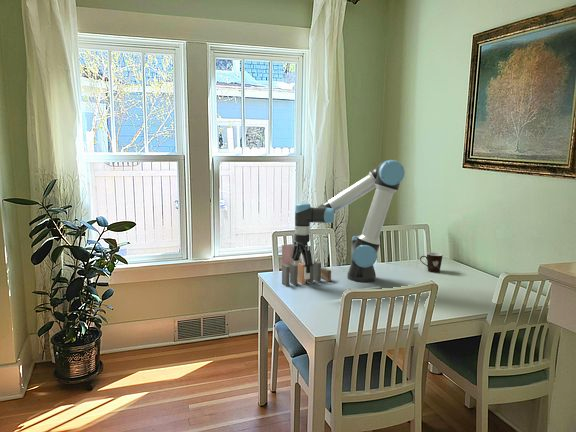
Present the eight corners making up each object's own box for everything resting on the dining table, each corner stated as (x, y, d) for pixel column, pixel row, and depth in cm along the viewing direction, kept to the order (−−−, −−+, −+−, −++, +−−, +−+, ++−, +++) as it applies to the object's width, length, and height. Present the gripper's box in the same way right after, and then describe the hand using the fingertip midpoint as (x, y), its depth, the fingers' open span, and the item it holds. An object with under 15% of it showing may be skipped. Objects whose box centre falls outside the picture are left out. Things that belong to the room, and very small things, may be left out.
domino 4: (316, 279, 229) (316, 260, 228) (320, 281, 225) (321, 263, 223) (313, 279, 228) (313, 261, 227) (317, 282, 224) (318, 263, 222)
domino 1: (285, 283, 221) (285, 264, 220) (289, 286, 217) (289, 266, 216) (281, 283, 221) (282, 264, 219) (286, 286, 216) (286, 266, 215)
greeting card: (299, 269, 249) (300, 243, 247) (305, 272, 243) (305, 246, 241) (281, 271, 245) (281, 244, 243) (286, 274, 238) (286, 247, 236)
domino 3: (308, 280, 227) (308, 261, 226) (313, 282, 223) (313, 263, 221) (305, 280, 226) (305, 262, 225) (310, 283, 222) (310, 264, 221)
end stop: (324, 277, 232) (324, 266, 231) (330, 281, 226) (331, 270, 225) (320, 278, 231) (321, 267, 231) (327, 281, 225) (327, 270, 224)
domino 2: (293, 282, 223) (293, 263, 222) (297, 284, 219) (297, 265, 217) (289, 282, 223) (290, 263, 221) (294, 285, 218) (294, 265, 217)
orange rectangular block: (302, 284, 220) (302, 265, 219) (297, 281, 224) (298, 262, 223) (305, 283, 221) (305, 264, 219) (300, 281, 225) (301, 262, 224)
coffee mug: (443, 270, 250) (444, 253, 248) (439, 274, 243) (440, 256, 241) (422, 267, 256) (423, 251, 255) (418, 270, 249) (419, 253, 247)
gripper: (285, 230, 228) (285, 271, 231) (306, 238, 207) (305, 282, 210) (298, 229, 231) (297, 269, 234) (320, 237, 210) (319, 281, 213)
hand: (301, 275), depth 222 cm, fingers open, 11 cm apart
